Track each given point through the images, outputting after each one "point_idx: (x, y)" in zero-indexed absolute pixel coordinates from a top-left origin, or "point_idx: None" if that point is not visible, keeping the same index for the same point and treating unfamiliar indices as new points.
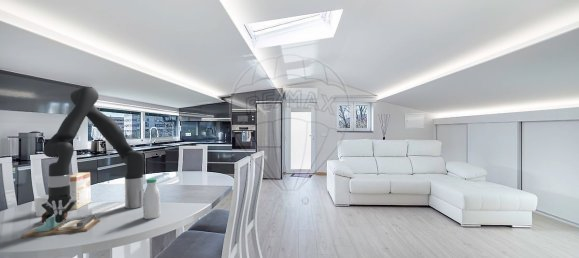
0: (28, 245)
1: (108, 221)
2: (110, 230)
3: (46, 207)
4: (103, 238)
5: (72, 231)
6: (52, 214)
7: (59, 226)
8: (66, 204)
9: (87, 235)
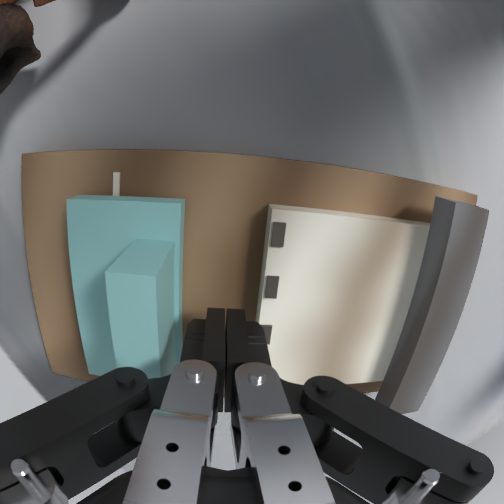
0: None
1: (501, 230)
2: (484, 382)
3: (65, 490)
4: None
5: None
6: (26, 30)
7: (208, 274)
8: (339, 490)
9: None
